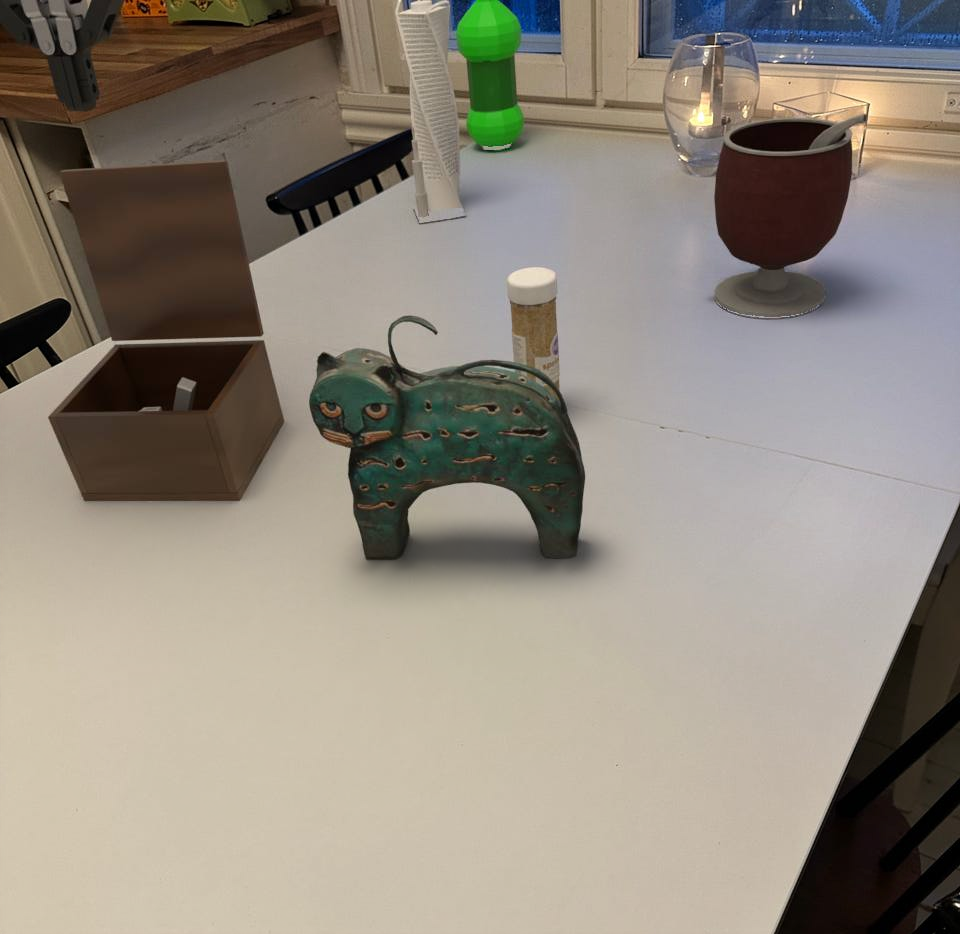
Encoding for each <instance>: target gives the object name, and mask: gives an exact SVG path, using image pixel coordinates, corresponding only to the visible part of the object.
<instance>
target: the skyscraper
mask: <svg viewBox="0 0 960 934" xmlns="http://www.w3.org/2000/svg"><path fill="white" fill-rule="evenodd" d="M401 1H402V0H397V3H396V7H395V12H394V17H395V20H396V23H397V28H398V32H399V36H400V40H401V44H402V48H403V49H402V50H403V52H404V57H405V60H406V64H407V69H408V72H409V107H410V109H409V110H410V118H411V119H410V120H411V127H410V128H411V135H412V140H411V146H412V147H411V148H412V155H413V160H411V164H412V173H413V179H414V187H415V193H414V196H415V203H416V206H417V210H418V217H423V218H424V217H426V216H429V213H428V211H429V212H431V211H438V210H443V209H451V208H462V207H463V204H462V202H461V200H460V183H461V181H460V178H461V142H460V141H461V140H460V125H459V123H460V122H459V115H458V107H457V101H456V95H455V91H454V86H453V83H452V77H451V74H450V71H449V68H448V56H449V39H450V38H449V37H450V19H451V18H450V17H451V4H450V1H449V0H440V1H438V2H436V3H434V4H433V3H432V2H433V1H432V0H415V1H413V2H411V3H410V8H409V9H406V10H403V11H400V12H399V9H400V5H401ZM458 197H459V198H458ZM413 212H414V211H413ZM414 214H415V212H414ZM415 218H416V220H417V221H418V219H417V217H416V216H415ZM463 218H467V215H466V216H463V217H457V218H451V219H444V220H438V221H431V222H425V223H419V222H418V225H424V224H430V223H436V222H443V221H448V220H449V221H450V220H455V219H463Z"/></svg>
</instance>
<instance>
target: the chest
mask: <svg viewBox="0 0 960 934" xmlns="http://www.w3.org/2000/svg"><path fill="white" fill-rule="evenodd" d="M266 347H267V346H266V343H265V340H264V339H257V340H225V341H224V340H222V341H189V342H187V341H186V342H156V343H155V342H154V343H153V342H151V343H123V344H118V343H117V344H114V345H113V347H111V348H110V350H108V352H106V354H105V355H104V356H103V357H102V358H101V359H100V361H98V362H97V364H96V365H95V366H94V367H93V368H92V369H91V370H90V371H89V372H88V373H87V374H86V375H85V377H83V378H82V380H81V381H80V382H79V383H78V384H77V385H76V386H75V387H74V388H73V389H72V391H71V392H70V393H69V394H68V395H67V396H66V397H65V398H64V399H63V400H62V401H61V403H59V404H58V405H57V406H56V407H55V408H54V409H53V411H52V412H51V413H50V414H49V415H48V416H47V419H48V420H49V424H50V426H51V428H52V430H53V432H54V435H55V438H56V439H57V442H58V445H59V447H60V449H61V451H62V453H63V456H64V458H65V460H66V463H67V465H68V467H69V469H70V472H71V474H72V476H73V479H74V481H75V483H76V486H77V488H78V491H79V493H80V495H81V498H82V500H83V501H240V500H241V498H242V497H243V495H244V493H245V492H246V489H247V488H248V486H249V485H250V483H251V481H252V479H253V478H254V475H255V473H257V470H258V468H259V466H260V465H261V463H262V461H263V460H264V458H265V456H266V454H267V452H268V451H269V449H270V447H271V445H272V443H273V442H274V439H275V438H276V436H277V435H278V433H279V431H280V429H281V427H282V426H283V424H284V422H285V417H284V415H283V411H282V406H281V402H280V398H279V394H278V391H277V387H276V386H277V385H276V383H275V379H274V375H273V371H272V366H271V363H270V358H269V355H268V351H267V348H266ZM182 377H183V378H186V379H189V380H192V381H194V382H197V385H196V390H195V395H194V401H193V406H192V410H189V411H173V407H174V401H175V396H176V390H177V385H178V383H179V382H180V380H181V379H182ZM144 407H161V409H162V411H139V410H142V409H143V408H144Z"/></svg>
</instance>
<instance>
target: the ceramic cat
mask: <svg viewBox="0 0 960 934" xmlns="http://www.w3.org/2000/svg"><path fill="white" fill-rule="evenodd" d="M401 323H413V324H417V325H419V326H421V327H424V328H425V329H426V330H429V331H431V332H432V333H433V335H435V336H437V335H438V333H439V332H438V330H437V328H436V327H435V326H434V325H433V324H432V323H431V322H430V321H428V320H427V319H425V318H424V317H423V318H422V317H420V316H416V315H403V316H400V317H398V318H397V319H395V320H394V321H393V322H392V323H390V326H389V328H388V332H387V347H388V351H389V355H390V356H389V355H387V354H385V353H382V352H381V351H378V350H374V349H370V348H364V347H356V348H353V349H349V350H345V351H344V352H342V353H340V354H339V355H337V356H335V355H332V354H330V353H329V352H327V351H322V352H321V353H320V354H319V355H318V356H317V359H316V364H317V365H316V378H315V381H314V384H313V386H312V389H311V391H310V393H309V399H308V405H309V410H310V414H311V418H312V421H313V423H314V425H315V426H316V428H317V430H318V432H319V435H320V436H321V437H322V438H323V439H325V440H326V441H328V442H330V443H332V444H334V445H337V446H341V447H345V448H347V449H350V450H349V451H350V452H349V457H348V462H347V478H348V481H349V486H350V490H351V494H352V514H353V517H354V519H355V523H356V524H357V528H358V530H359V534H360V539H361V544H362V548H363V553H364V559H367V560H396V559H397V558H399V557H400V556H402V555H403V554H404V552H405V551H406V548H407V543H408V539H409V537H410V536H411V535H410V533H411V531H410V530H411V529H410V528H411V527H410V523H409V509H410V508H411V507H412V505H413V504H414V503H415V502H416V500H417V499H418V498H419V497H420V496H421V495H422V494H423V493H425V492H428V491H429V490H433V489H437V488H443V487H448V486H452V485H458V484H472V483H474V484H484V485H485V484H486V485H492V486H495V487H500V488H503V489H506V490H508V491H511V492H513V493H514V494H515V495H516V496H517V497H518V498H519V499H520V501H521V502H522V504H523V505H524V508H526V510H527V511H528V513H529V515H530V518H531V520H532V522H533V524H534V526H535V529H536V531H537V532H536V533H537V537H538V543H539V550H540V553H541V555H542V556H543V557H545V558H550V559H565V558H572V557H576V555H577V554H578V547H579V539H580V532H581V526H582V516H583V507H584V492H585V485H586V470H585V465H584V462H583V457H582V450H581V445H580V441H579V439H578V436H577V433H576V431H575V428H574V425H573V423H572V421H571V418H570V416H569V413H568V409H567V405H566V402H565V399H564V397H563V395H562V392H561V391H559V389H558V388H557V386H556V385H555V383H554V382H553V381H552V380H551V379H550V378H549V377H548V376H547V375H545V374H544V373H543V372H541V371H540V370H538V369H536V368H533V367H530V366H527V365H524V364H521V363H515V362H514V361H510V360H499V359H482V360H476V361H472V362H467V363H464V364H462V365H453V366H445V367H440V368H434V369H431V370H428V371H423V372H416V371H413V370H410V369H408V368H405V366H403V365H402V364H401V363H399V361H398V358H397V355H396V353H395V351H394V347H393V344H392V333H393V331H394V329H395V328H396V326H398V325H400V324H401ZM498 367H500V368H498ZM503 368H504V369H503ZM513 370H514V371H513ZM515 370H519V371H524V372H527V373H529V374H532V375H533V376H535V377H537V378H539V379H540V380H541V381H543V382H544V383H545V384H547V385H548V386H550V387H551V389H552V390H553V391H554V392H555V393H556V395H557V397H558V398H559V401H560V402H559V401H558V399H557V398H556V397H555V396H554V395H553V394H552V393H550V392H549V391H548V390H547V389H546V388H545V387H543V386H542V385H540V384H539V383H537V382H535V381H533V380H532V379H530V378H528V377H527V376H524V375H522V374H519V373H517V372H515Z"/></svg>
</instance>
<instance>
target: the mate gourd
mask: <svg viewBox="0 0 960 934" xmlns="http://www.w3.org/2000/svg"><path fill="white" fill-rule="evenodd" d="M867 122H868V114H867V113H861V114H859V115H854V116H852V117H850V118H847V119H845V120H842V121H840V122H836V121H832V120H828V119H821V118H812V117H811V118H810V117H782V118H781V117H779V118H778V117H777V118H769V119H762V120H756V121H752V122H747V123H744V124H743V123H742V124H740V125H737V126H734V127H732V128H731V129H729V130H728V131H726V132H725V134H724V135H723V143H722V147H721V149H720V153H719V156H718V163H717V168H716V171H715V181H714V182H715V183H714V195H713V196H714V197H713V198H714V200H713V201H714V211H715V212H714V214H715V224H716V229H717V230H716V231H717V235H718V237H719V238H720V240H721V242H723V244H724V246H725V247H726V249H727V250H728V252H729V254H730V255H731V256H732V257H734V258H735V259H737V260H739V261H742V262H743V263H744V262H745V263H747V264H752V265H754V266H757V267H759V269H758V270H753V271H748V272H742V273H738V274H735V275H731V276H730V277H727V278H725V279H724V280H722V281H721V282H719V283H718V284H717V286H716V287H715V289H714V301H715V303H716V305H717V306H718V307H719V308H721V309H723V310H724V311H726V312H728V313H730V314H733V315H736V316H740V317H745V318H750V319H751V318H752V319H758V320H759V319H761V320H780V319H790V318H795V317H799V316H802V315H805V314H806V315H807V314H809V313H811V312H813V311H816V310H817V309H818V308H819V307H821V306H822V304H823V303H824V302H825V299H826V288H825V286H824V285H823V284H822V283H821V282H820V281H818V280H817V279H815V278H813V277H811V276H809V275H806V274H802V273H799V272H793V271H787V270H786V267H789V266H793V265H796V264H800V263H803V262H806V261H809V260H811V259H814V258H815V257H817V256H818V255H819V254H820V252H821V251H822V250H823V249H824V248H825V247H826V246H827V245H828V244H829V243H830V241H832V239H833V238H834V237H835V236H836V234H837V232H838V230H839V227H840V225H841V222H842V219H843V216H844V214H845V213H844V212H845V209H846V205H847V202H848V199H849V194H850V187H851V180H852V175H853V143H852V138H853V131H852V129H851V128H852V127H854V126H856V125H858V124H865V123H867ZM715 299H716V300H715ZM823 300H824V301H823ZM716 301H717V302H718V303H719V304H720V305H721V306H722V307H724V308H726V309H728V310H730V311H733V312H737V313H739V314H736V313H733V312H730V311H728V310H726V309H724V308H722V307H721V306H720V305H719V304H718V303H717V302H716ZM821 303H822V304H821ZM820 304H821V305H820ZM818 305H820V306H818ZM817 306H818V307H817ZM816 307H817V308H816ZM814 308H815V309H814ZM812 309H813V310H812ZM810 310H811V311H810ZM807 311H809V312H807ZM805 312H806V313H805ZM801 313H803V314H801ZM740 314H745V315H752V316H753V315H755V316H764V317H781V316H790V317H781V318H759V317H750V316H744V315H740ZM796 314H800V315H796ZM791 315H795V316H791Z"/></svg>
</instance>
